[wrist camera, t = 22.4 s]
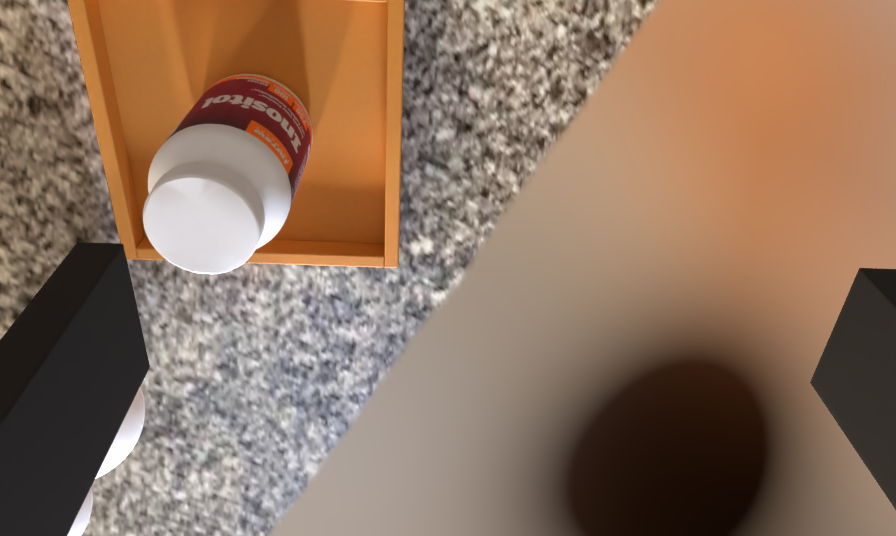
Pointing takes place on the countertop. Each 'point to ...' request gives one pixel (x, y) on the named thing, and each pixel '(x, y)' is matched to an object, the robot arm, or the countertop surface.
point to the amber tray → (271, 55)
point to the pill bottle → (227, 174)
